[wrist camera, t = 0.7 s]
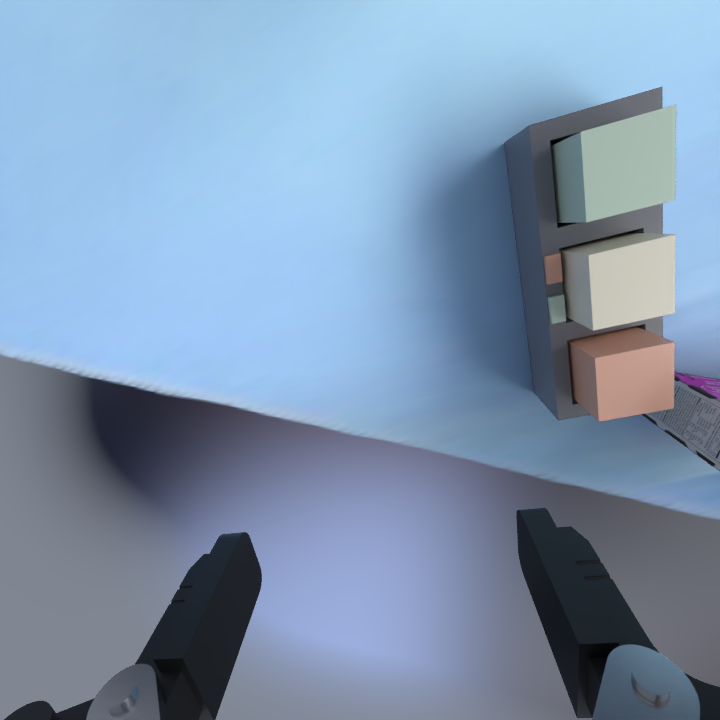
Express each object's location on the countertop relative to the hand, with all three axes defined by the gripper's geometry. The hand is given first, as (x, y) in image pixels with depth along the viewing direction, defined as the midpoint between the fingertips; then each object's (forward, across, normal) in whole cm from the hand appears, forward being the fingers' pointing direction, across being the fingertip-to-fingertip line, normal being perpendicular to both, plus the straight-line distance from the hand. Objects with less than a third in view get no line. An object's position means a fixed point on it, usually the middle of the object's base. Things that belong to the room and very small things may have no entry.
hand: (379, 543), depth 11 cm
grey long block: (+26, -16, -2) cm, 30 cm away
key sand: (+22, -16, -2) cm, 27 cm away
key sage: (+22, -16, -9) cm, 28 cm away
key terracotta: (+22, -17, +5) cm, 28 cm away
